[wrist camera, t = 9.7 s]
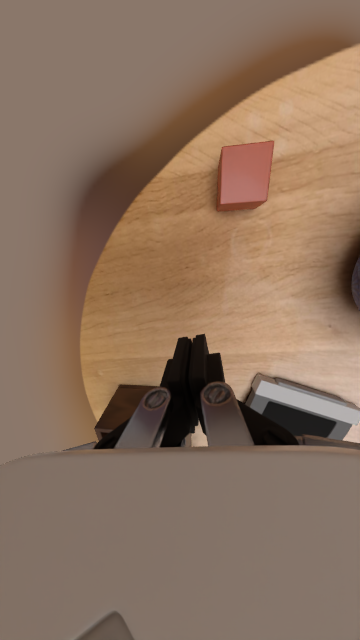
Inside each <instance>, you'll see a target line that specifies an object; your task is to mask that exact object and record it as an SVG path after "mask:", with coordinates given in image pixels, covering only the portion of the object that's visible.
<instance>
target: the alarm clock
mask: <svg viewBox="0 0 360 640" xmlns="http://www.w3.org/2000/svg"><path fill="white" fill-rule="evenodd" d="M252 388H253V390H252V392H251V394H250V396H249V398H248V400H247V401H246V403H245V405H247V406H249V407H250V408H252V409H254V410H255V411H257V412H258V413H260V414H262V415H263V416H265V417H267V418H268V419H270V420H272V421H273V422H275V423H277V424H278V425H280V426H282V427H283V428H285V429H286V430H288V431H289V432H290V433H292V434H293V435H294V436H299V437H303V434H306V435H312V436H318V437H324V438H330V439H336V440H343V438H344V437H345V436H346V434H347V433H348V431H349V429H350V428H351V426H352V425H358V423H359V421H360V408H359V407H357V406H356V405H355V404H352V403H349V402H346V401H344V400H343V399H341V398H339V397H337V396H334V395H330V394H327V393H324V392H321V391H318V390H314V389H311V388H308V387H305V386H302V385H299V384H295V383H292V382H289V381H286V380H283V379H279V378H276V379H273V378H270V377H266V376H263V375H260V374H257V375H256V377H255V379H254V381H253V383H252Z"/></svg>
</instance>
